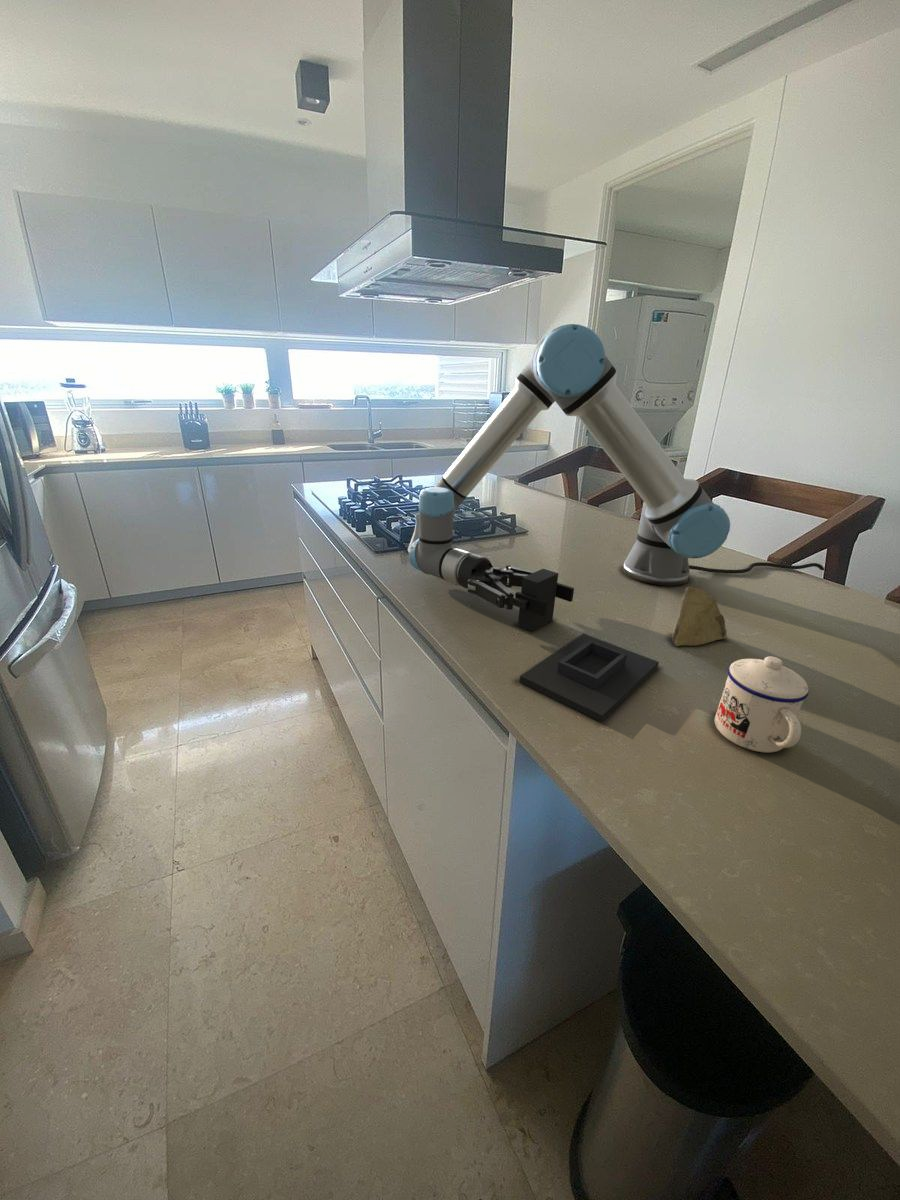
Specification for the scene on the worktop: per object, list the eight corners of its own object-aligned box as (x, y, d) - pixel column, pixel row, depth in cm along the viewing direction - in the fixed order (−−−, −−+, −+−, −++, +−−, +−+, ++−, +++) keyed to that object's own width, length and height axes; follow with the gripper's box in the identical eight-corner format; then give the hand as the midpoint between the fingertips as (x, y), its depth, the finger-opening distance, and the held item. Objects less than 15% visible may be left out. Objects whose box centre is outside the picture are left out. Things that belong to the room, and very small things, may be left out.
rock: (726, 618, 94) (672, 604, 96) (747, 597, 87) (688, 582, 89) (720, 668, 90) (664, 652, 92) (742, 650, 82) (680, 633, 84)
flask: (435, 548, 136) (435, 513, 132) (431, 556, 129) (432, 520, 125) (409, 546, 136) (409, 511, 132) (405, 555, 130) (404, 518, 126)
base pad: (582, 639, 90) (584, 623, 89) (657, 668, 81) (661, 651, 80) (519, 682, 76) (521, 664, 75) (601, 722, 68) (604, 703, 66)
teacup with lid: (700, 711, 71) (720, 641, 66) (761, 712, 71) (786, 642, 66) (746, 771, 60) (775, 693, 55) (819, 772, 60) (854, 694, 55)
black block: (537, 614, 99) (543, 568, 95) (552, 619, 97) (558, 573, 93) (517, 625, 94) (522, 577, 90) (532, 631, 92) (538, 582, 88)
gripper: (497, 574, 113) (585, 603, 99) (432, 600, 98) (524, 639, 85) (499, 543, 110) (590, 569, 96) (432, 565, 95) (528, 600, 81)
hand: (559, 602), depth 90 cm, fingers open, 9 cm apart
